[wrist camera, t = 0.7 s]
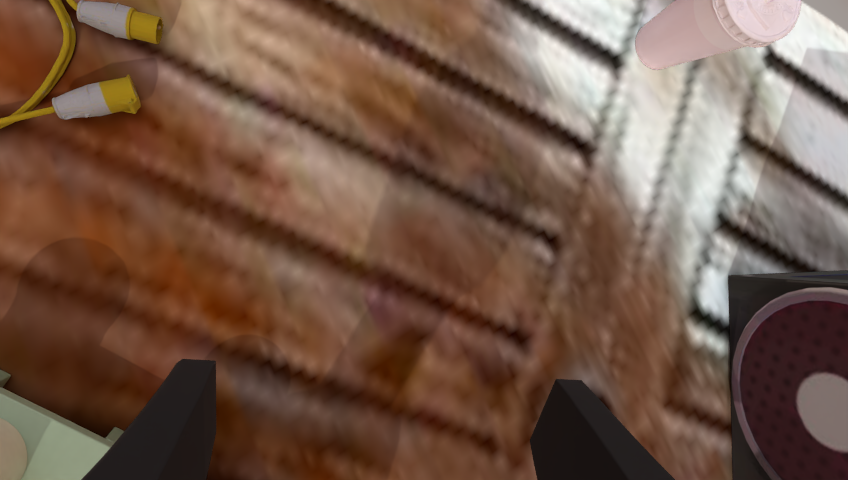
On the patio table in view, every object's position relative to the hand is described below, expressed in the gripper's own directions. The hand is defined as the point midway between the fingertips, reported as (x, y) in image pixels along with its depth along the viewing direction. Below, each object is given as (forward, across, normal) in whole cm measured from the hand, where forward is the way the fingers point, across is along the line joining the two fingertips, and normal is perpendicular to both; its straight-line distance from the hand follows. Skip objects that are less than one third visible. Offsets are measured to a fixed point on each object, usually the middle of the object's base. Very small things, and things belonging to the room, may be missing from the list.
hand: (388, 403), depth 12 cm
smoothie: (+34, -23, -4) cm, 41 cm away
